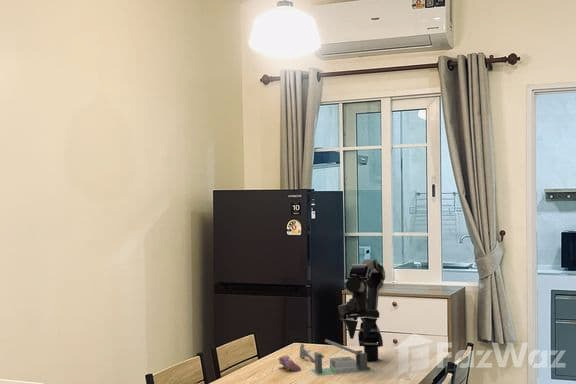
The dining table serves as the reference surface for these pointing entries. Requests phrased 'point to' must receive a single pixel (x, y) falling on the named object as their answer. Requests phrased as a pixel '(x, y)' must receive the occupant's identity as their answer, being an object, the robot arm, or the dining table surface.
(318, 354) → the post
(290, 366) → the purple rounded piece
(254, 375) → the dining table surface
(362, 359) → the hinge post
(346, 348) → the strap
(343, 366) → the heatsink
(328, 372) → the board
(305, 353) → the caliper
